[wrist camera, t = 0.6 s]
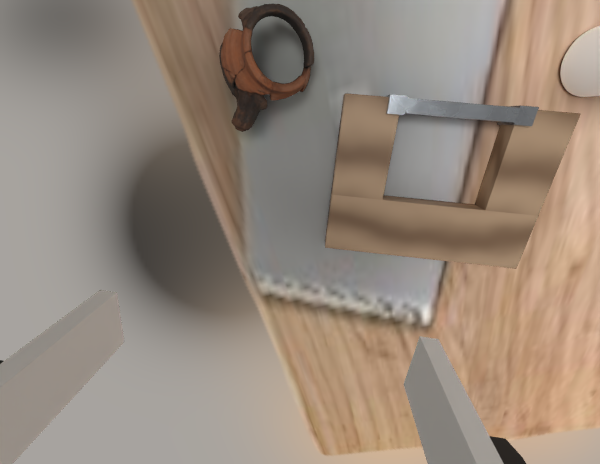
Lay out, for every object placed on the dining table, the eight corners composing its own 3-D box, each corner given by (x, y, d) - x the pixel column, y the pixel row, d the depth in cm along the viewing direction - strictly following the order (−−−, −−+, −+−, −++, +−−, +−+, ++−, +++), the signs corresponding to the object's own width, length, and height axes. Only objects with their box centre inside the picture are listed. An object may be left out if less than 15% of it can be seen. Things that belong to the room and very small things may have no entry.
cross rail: (384, 97, 32) (390, 94, 29) (519, 108, 31) (538, 107, 28) (381, 114, 33) (387, 113, 30) (513, 125, 32) (532, 126, 29)
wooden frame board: (343, 95, 32) (345, 93, 30) (561, 114, 31) (580, 113, 29) (325, 240, 39) (325, 247, 36) (504, 259, 38) (516, 268, 35)
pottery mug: (225, 11, 31) (244, -34, 24) (299, 53, 35) (335, 26, 28) (200, 122, 32) (211, 111, 25) (275, 149, 37) (302, 146, 29)
